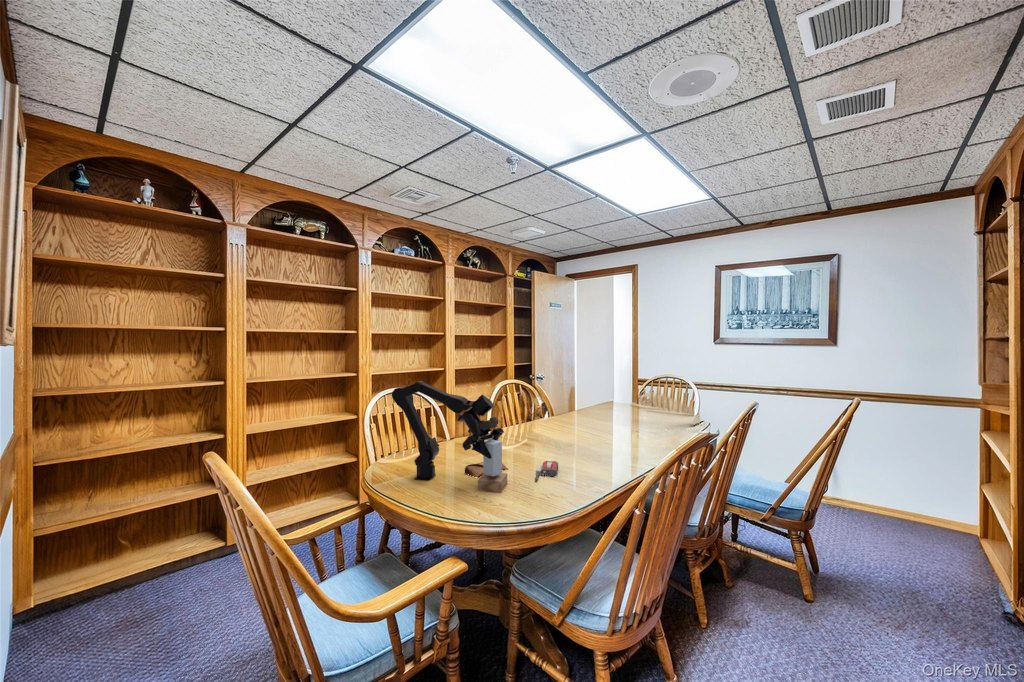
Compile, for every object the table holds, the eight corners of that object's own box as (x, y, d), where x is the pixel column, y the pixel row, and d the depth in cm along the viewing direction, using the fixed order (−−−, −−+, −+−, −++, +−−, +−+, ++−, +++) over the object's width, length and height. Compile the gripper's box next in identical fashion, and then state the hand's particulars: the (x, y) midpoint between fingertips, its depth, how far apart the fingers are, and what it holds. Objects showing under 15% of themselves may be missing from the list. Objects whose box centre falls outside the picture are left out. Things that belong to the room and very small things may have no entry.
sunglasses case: (475, 478, 160) (470, 462, 163) (467, 483, 165) (463, 467, 167) (510, 468, 172) (505, 453, 174) (501, 473, 176) (496, 458, 179)
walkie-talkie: (539, 466, 176) (533, 483, 156) (539, 456, 176) (533, 472, 156) (558, 467, 174) (555, 484, 154) (558, 457, 174) (555, 473, 154)
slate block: (483, 473, 151) (483, 442, 150) (492, 469, 155) (492, 439, 154) (493, 476, 148) (493, 444, 147) (502, 472, 151) (501, 441, 151)
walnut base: (478, 490, 148) (478, 479, 148) (485, 481, 157) (485, 471, 157) (501, 492, 146) (501, 481, 146) (507, 483, 154) (507, 473, 154)
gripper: (467, 414, 146) (490, 450, 139) (500, 407, 160) (522, 438, 154) (453, 432, 151) (474, 467, 144) (486, 424, 165) (506, 455, 159)
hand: (495, 456), depth 150 cm, fingers closed on slate block, 5 cm apart
